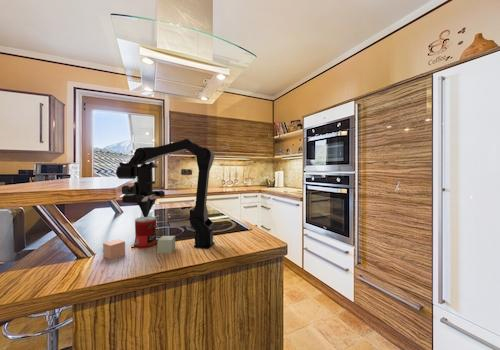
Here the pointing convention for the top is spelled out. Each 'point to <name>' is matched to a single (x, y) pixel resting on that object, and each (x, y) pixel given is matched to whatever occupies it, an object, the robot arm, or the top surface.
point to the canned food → (145, 231)
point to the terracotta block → (113, 249)
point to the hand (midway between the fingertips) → (145, 216)
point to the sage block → (166, 244)
